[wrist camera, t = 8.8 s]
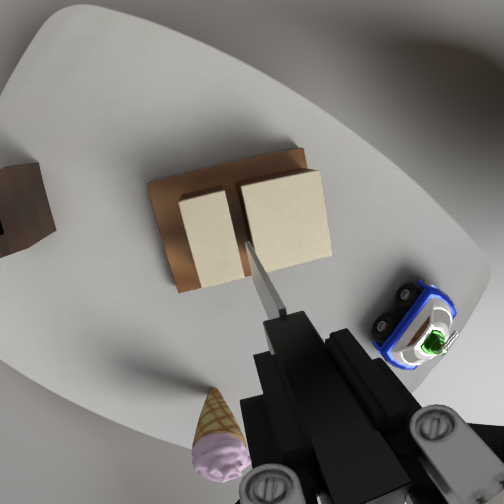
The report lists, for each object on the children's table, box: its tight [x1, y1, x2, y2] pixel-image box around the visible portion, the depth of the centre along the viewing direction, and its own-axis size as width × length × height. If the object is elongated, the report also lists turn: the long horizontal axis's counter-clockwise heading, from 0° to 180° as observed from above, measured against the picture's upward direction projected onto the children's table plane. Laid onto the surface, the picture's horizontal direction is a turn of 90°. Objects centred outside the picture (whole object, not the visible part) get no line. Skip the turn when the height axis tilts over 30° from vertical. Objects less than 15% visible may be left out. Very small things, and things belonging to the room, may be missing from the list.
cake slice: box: [178, 185, 245, 288], centre depth 30 cm, size 8×4×5 cm, turn 12°
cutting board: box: [147, 148, 307, 293], centre depth 34 cm, size 12×16×2 cm
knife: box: [245, 241, 412, 504], centre depth 13 cm, size 3×2×18 cm, turn 12°
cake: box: [236, 168, 332, 272], centre depth 31 cm, size 8×7×5 cm
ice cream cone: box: [192, 388, 251, 483], centre depth 34 cm, size 7×6×15 cm
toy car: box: [372, 280, 459, 370], centre depth 37 cm, size 9×12×10 cm
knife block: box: [0, 163, 56, 258], centre depth 27 cm, size 8×6×7 cm
